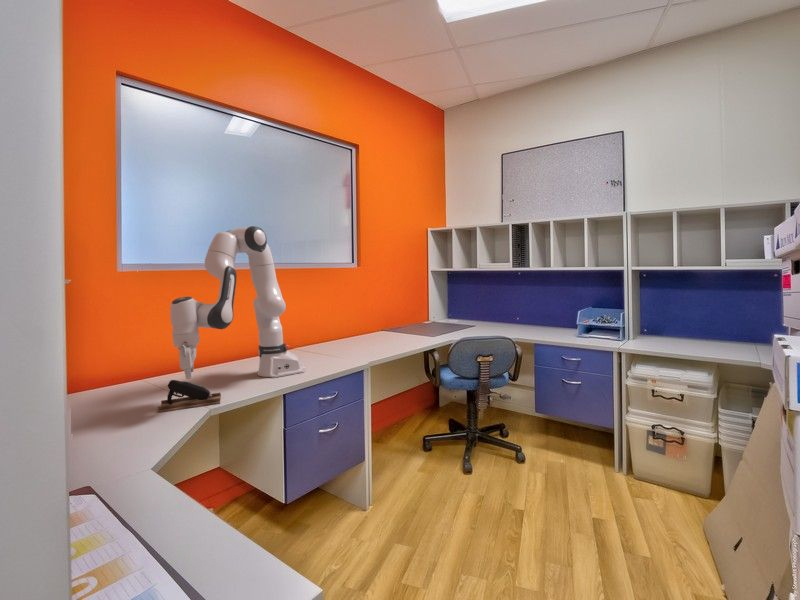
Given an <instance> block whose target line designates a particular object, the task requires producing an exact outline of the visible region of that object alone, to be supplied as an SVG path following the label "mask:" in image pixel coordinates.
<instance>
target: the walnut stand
mask: <svg viewBox="0 0 800 600" xmlns="http://www.w3.org/2000/svg"><path fill="white" fill-rule="evenodd" d="M210 394H211V395H212V397H208V398H207V400H198V399H194V398H191V397H188V396H185V397H184V396H183V397H176V398H171V399H172V400H171V401H172V405H171V404H168V401H167V399H164V400H161V401H160V405H159V406H157V413H158V414H159V413H166V412H172V411H173V412H174V411H180V410H186V409H192V408H193V409H194V408H198V407H199V408H201V407H208V406H214V405H220V404H221V400H222V399H221V398H222V395H221V392H214V393H210Z"/></svg>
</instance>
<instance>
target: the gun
mask: <svg viewBox="0 0 800 600" xmlns="http://www.w3.org/2000/svg"><path fill="white" fill-rule="evenodd" d="M167 388H168V389H169V391H168V394H167V396H166V397H167V398H166V400H167V401H168V404H171V405H172V401H171V400H172V399H173V396H174V397H176V398H184V396H185V397H191V398H194V399H198V400H207V398H208V397H212V395H211V394H212V393H211V391H209V390H208V389H207V388H206V387H204V386H203V385H200V384H197V383H194V382H191V381H180V380H176V379H172V380H169V381H168V383H167ZM179 394H180V395H179Z"/></svg>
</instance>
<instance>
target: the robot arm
mask: <svg viewBox="0 0 800 600" xmlns="http://www.w3.org/2000/svg"><path fill="white" fill-rule="evenodd" d="M267 241H268V239H267V234H266V233H265V231H264V230H263V229H262V228H261V227H259V226H256V225H255V226H253V225H252V226H250V225H249V226H244V227H243V226H242V227H238V228H234V229H229V230H227V231H220V232H218V233H216V234H215V235H214V237H213V239H212V241H211V242H210V244H209V247H208V249H207V252H206V255H205V259H204V269H206V271H207V273H208V274H209V275H210V276H213V277H214V278H217V279H218V280H219V290H218V296H217V297H218V298H217V301H216V302H214V303H205V302H200V301H198V300H196V299H194V297H192V296H183V297H178V298H176V299H174V300H172V301H171V303H170V308H169V309H170V310H169V311H170V313H169V314H170V323H171V326H172V332H171V334H172V344H173V347H176V348H177V350H178V351H179V352H178V354H179V355H178V357H179V368H180V370H182V371H183V372H184V375H185V376H184V377H185V379H186V380H190V379H192V373H193V372H194V369H195V368H194V365H195V364H194V362H195V360H196V357H197V345H198V344H200V333H199V328H206V329H207V328H208V329H217V330H225V329H227V328H228V327H229V326H230V325H231V324H232V322H233V320H234V304H235V303H234V302H235V296H236V295H235V294H236V287H237V276H238V275H237V271H236V269H235V268H234V267H235V262H236V259H237V258H236V257H237V254H246V255H247V257H248V265H249V270H250V277H251V282H252V285H253V287H254V290H255V292H256V296H255V298H254V299H253V308H254V315H255V320H256V324H257V329H258V330H257V331H258V356H259V364H258V371H257V375H258V376H259V377H262V378H263V377H264V378H268V377H269V378H280V377H285V376H292V375H296V374H302V373H304V372H306V367H305V365H303V364H302V363H301V361H300V357H298V355H296V354H294V353H293V352H291V351H290V350H289V349H290V345H289V344H286V343H285V342H284V335H283V325H282V324H281V320H280V316H282V315H283V314H284V312H285V311H286V309H287V308H286V307H287V306H286V305H287V304H286V301H285V300H284V298H283V297H284V296H283V295H282V291H281V288H280V285H279V282H278V278H277V274H276V268H275V263H274V258H273V254H272V251H271V248H270V246H269V244H268V243H267Z"/></svg>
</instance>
